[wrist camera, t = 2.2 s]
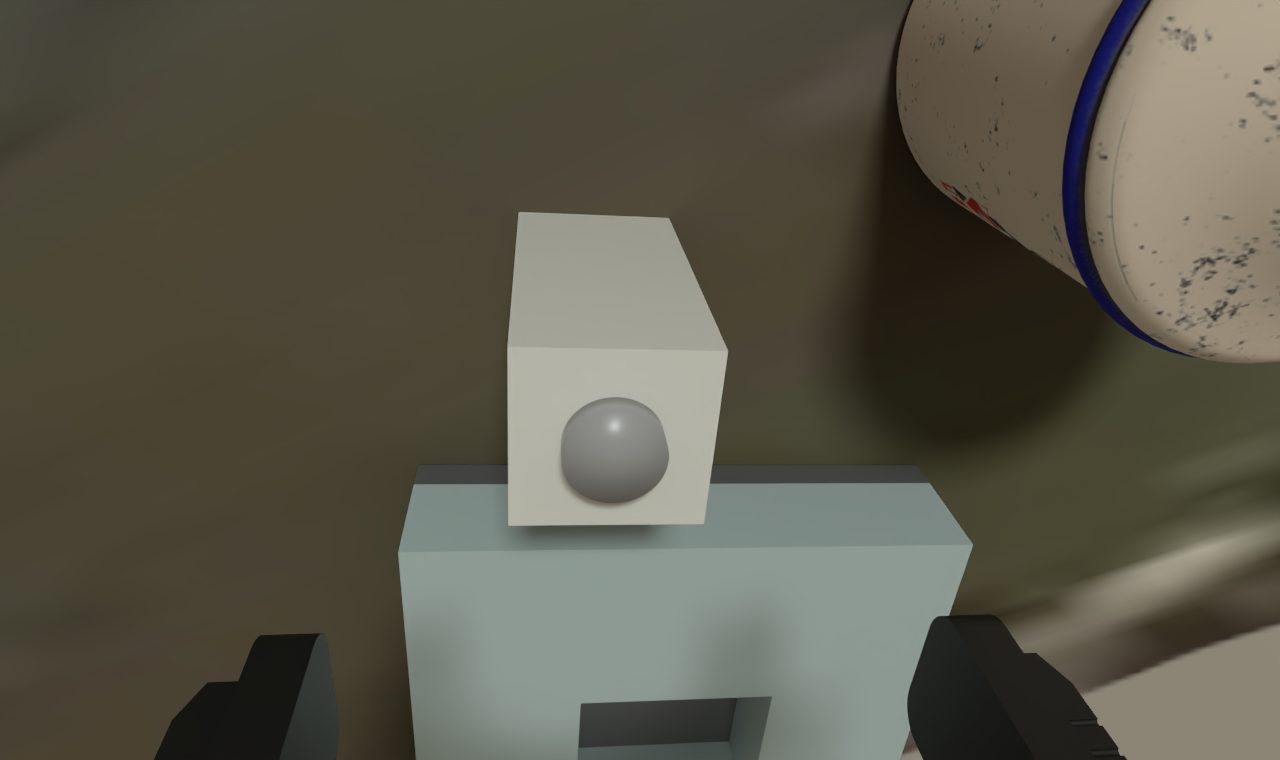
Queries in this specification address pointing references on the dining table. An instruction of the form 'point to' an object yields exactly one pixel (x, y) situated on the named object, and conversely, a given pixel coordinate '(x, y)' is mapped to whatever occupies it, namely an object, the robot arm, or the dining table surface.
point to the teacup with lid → (1116, 151)
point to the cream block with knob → (609, 375)
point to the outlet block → (676, 619)
